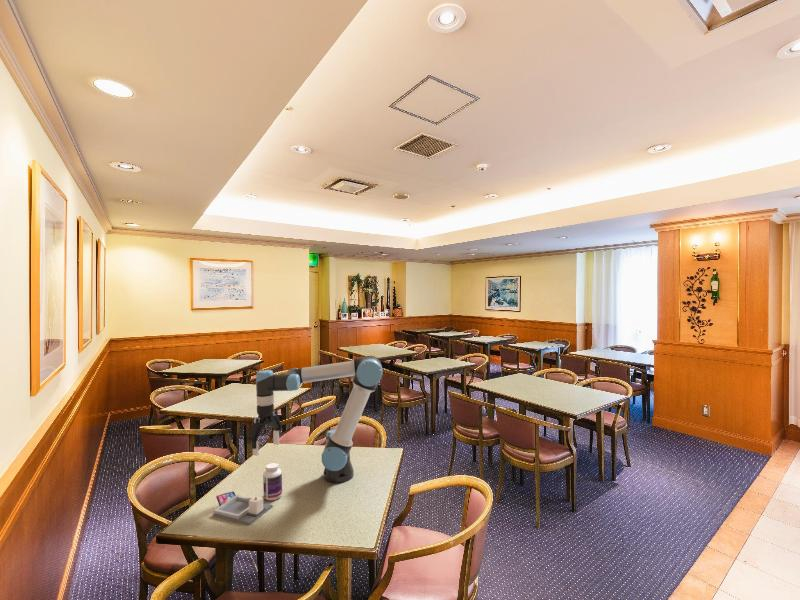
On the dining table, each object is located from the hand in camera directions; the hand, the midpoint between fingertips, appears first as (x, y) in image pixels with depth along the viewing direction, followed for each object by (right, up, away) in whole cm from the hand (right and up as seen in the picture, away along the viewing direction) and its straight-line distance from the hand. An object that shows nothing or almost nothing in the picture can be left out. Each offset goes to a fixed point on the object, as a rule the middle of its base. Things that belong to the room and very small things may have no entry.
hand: (266, 449), depth 180 cm
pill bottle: (+5, -20, -4) cm, 21 cm away
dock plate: (-4, -20, -16) cm, 26 cm away
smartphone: (-15, -21, -7) cm, 26 cm away
